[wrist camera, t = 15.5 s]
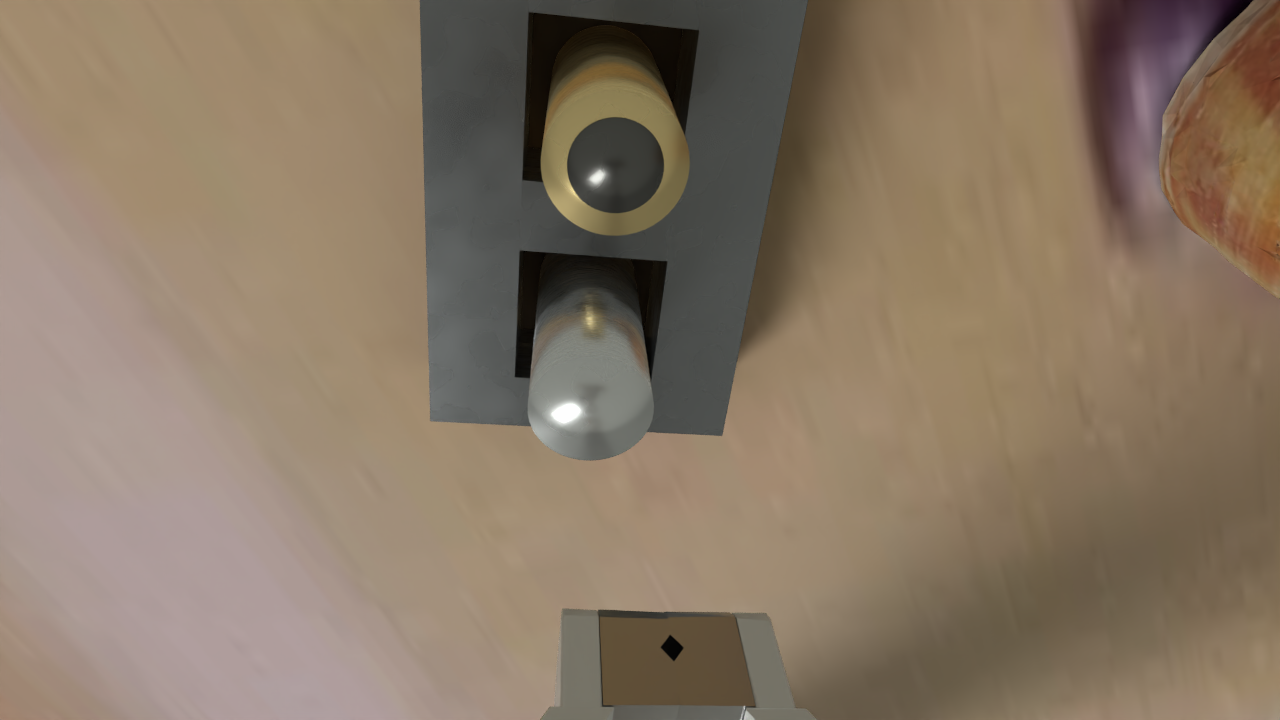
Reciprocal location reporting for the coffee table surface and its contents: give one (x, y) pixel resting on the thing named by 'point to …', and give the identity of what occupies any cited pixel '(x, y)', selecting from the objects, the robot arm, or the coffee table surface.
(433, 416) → the jig
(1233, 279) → the coffee table surface
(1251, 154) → the seashell
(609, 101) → the bushing
